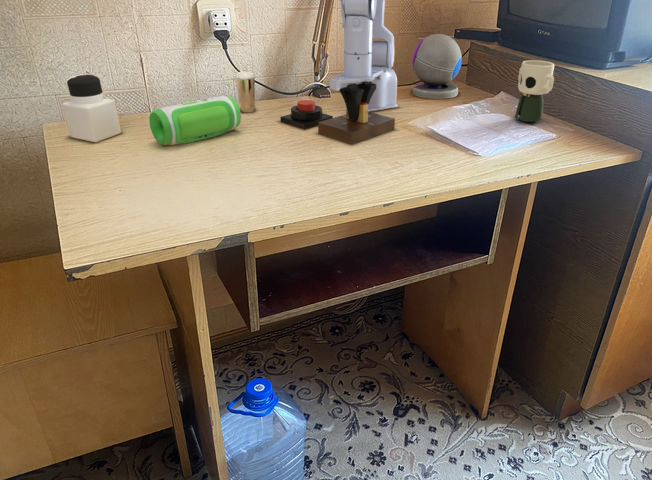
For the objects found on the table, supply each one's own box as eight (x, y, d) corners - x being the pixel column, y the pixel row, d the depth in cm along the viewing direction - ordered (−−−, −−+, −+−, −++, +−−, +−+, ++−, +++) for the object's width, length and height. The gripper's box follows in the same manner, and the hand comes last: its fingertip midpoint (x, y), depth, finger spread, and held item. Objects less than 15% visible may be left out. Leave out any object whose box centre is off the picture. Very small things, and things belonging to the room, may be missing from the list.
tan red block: (346, 118, 120) (346, 99, 118) (351, 117, 121) (351, 98, 119) (363, 123, 117) (363, 104, 115) (368, 121, 118) (368, 103, 116)
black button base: (309, 114, 131) (308, 101, 129) (332, 121, 126) (332, 108, 125) (280, 121, 125) (279, 108, 124) (304, 129, 121) (303, 116, 119)
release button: (306, 106, 127) (306, 98, 126) (318, 110, 125) (318, 102, 124) (294, 109, 124) (293, 102, 123) (306, 113, 122) (305, 105, 121)
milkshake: (260, 107, 135) (257, 65, 130) (254, 113, 130) (251, 70, 125) (242, 106, 135) (238, 64, 130) (236, 113, 131) (231, 69, 125)
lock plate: (361, 120, 127) (361, 108, 126) (394, 129, 122) (395, 117, 120) (318, 133, 119) (317, 121, 117) (351, 144, 113) (352, 131, 112)
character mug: (501, 116, 133) (510, 59, 126) (524, 112, 135) (534, 57, 128) (531, 128, 124) (543, 69, 117) (555, 125, 127) (567, 66, 120)
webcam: (419, 85, 157) (423, 29, 150) (463, 90, 153) (469, 32, 145) (404, 95, 147) (408, 35, 139) (450, 101, 143) (457, 40, 135)
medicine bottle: (122, 133, 116) (109, 74, 110) (95, 143, 111) (80, 82, 104) (97, 128, 119) (83, 71, 112) (70, 137, 113) (54, 78, 107)
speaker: (225, 125, 122) (221, 91, 118) (244, 133, 118) (241, 97, 114) (151, 142, 112) (144, 105, 108) (169, 151, 107) (162, 113, 103)
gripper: (347, 59, 105) (347, 129, 112) (395, 50, 114) (392, 115, 121) (322, 54, 109) (323, 122, 116) (370, 46, 118) (368, 109, 125)
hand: (357, 118), depth 119 cm, fingers closed on tan red block, 2 cm apart
